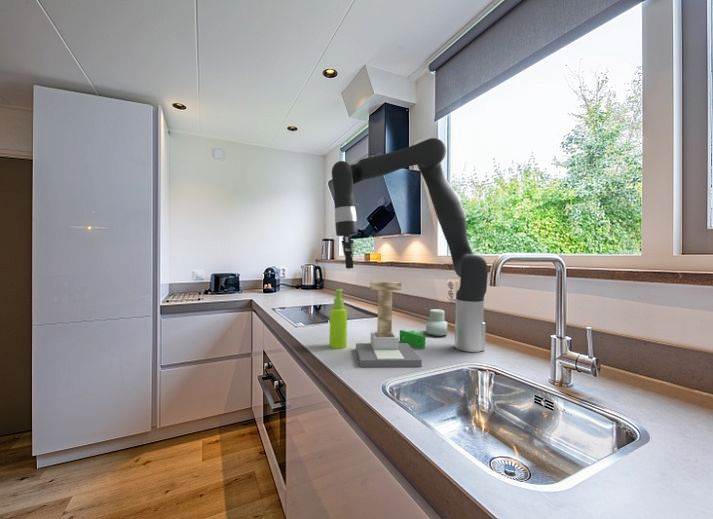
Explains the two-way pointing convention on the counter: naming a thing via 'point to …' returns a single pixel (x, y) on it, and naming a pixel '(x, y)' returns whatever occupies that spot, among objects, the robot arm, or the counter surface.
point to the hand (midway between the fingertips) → (349, 268)
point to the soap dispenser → (338, 323)
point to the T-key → (384, 306)
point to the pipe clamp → (412, 338)
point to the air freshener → (436, 323)
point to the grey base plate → (386, 353)
